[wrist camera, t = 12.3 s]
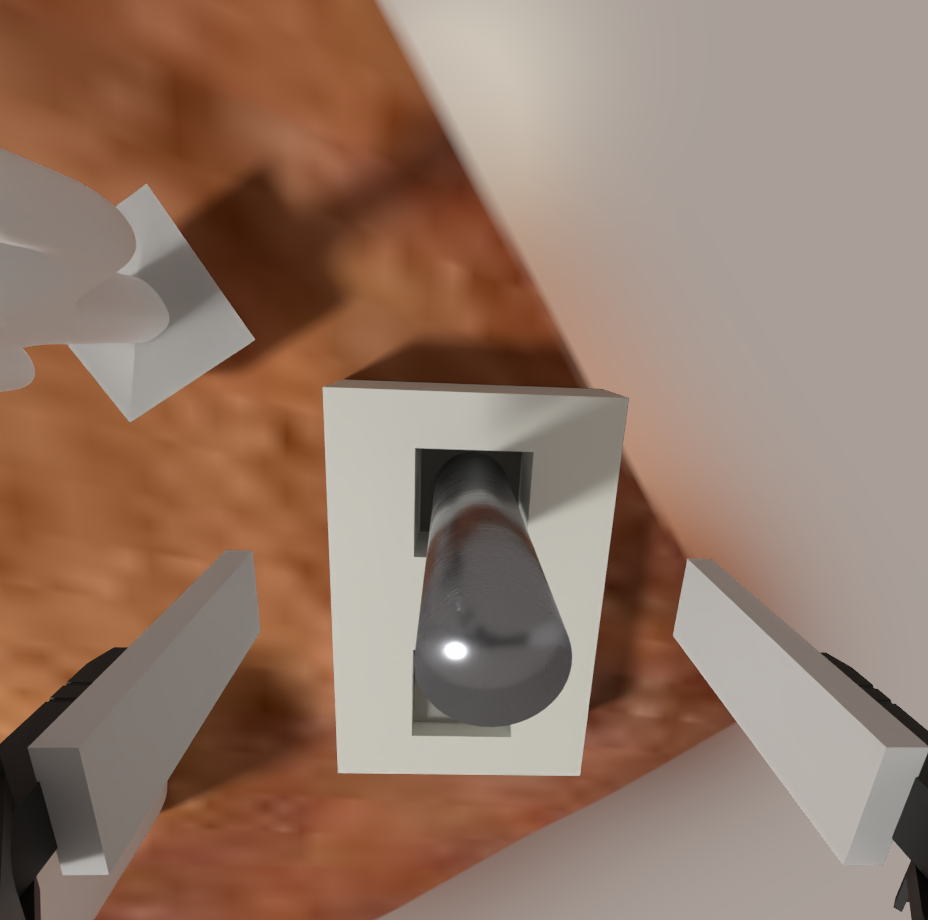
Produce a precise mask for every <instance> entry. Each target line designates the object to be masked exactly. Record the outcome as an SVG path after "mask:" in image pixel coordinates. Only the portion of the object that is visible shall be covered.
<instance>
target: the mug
mask: <svg viewBox="0 0 928 920" xmlns="http://www.w3.org/2000/svg"><path fill="white" fill-rule="evenodd" d="M166 795H167V782H166V784H165V785H164V787H163V789H162V790H161V792H160V793H159V795H158V797H157V798H156V800H155V802H154V803H153V805H152V806H151V808H150V810H149V811H148V813H147V814H146V816H145V818H144V819H143V821H142V822H141V824H140V826H139V827H138V829H137V830H136V832H135V834H134V835H133V837H132V839H131V840H130V842H129V843H128V845H127V847H126V848H125V850H124V851H123V853H122V855H121V856H120V858H119V859H118V861H117V863H116V864H115V866H114V868H113V869H112V871H111V872H110V874H109V875H63V874H62V871H61V867H60V864H59V860H58V856H57V853H56V851H55V852H54V854H53V855H52V856H51V858H50V859H49V860H48V861H47V863H46V864H45V865H44V867H43V868H42V869H41V871H40V872H39V873H38V875H37V876H36V877H37V880H38V884H39V887H40V905H41V920H94V919H95V917H96V915H97V914H98V912H99V911H100V909H101V907H102V906H103V904H104V903H105V901H106V899H107V898H108V896H109V894H110V893H111V891H112V890H113V888H114V886H115V885H116V883H117V882H118V880H119V878H120V877H121V875H122V874H123V872H124V870H125V869H126V867H127V866H128V864H129V862H130V861H131V859H132V857H133V856H134V854H135V853H136V851H137V849H138V848H139V846H140V845H141V843H142V841H143V840H144V838H145V837H146V835H147V833H148V832H149V830H150V828H151V827H152V825H153V824H154V822H155V820H156V819H157V817H158V815H159V813H160V811H161V809H162V807H163V804H164V802H165V799H166Z"/></svg>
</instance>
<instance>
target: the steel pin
mask: <svg viewBox="0 0 928 920" xmlns="http://www.w3.org/2000/svg"><path fill="white" fill-rule="evenodd" d="M571 665H572V649H571V644H570V640H569V637H568V634H567V632H566V629H565V626H564V624H563V621H562V619H561V616H560V614H559V611H558V608H557V606H556V603H555V601H554V598H553V595H552V593H551V590H550V588H549V585H548V583H547V580H546V577H545V575H544V572H543V570H542V567H541V565H540V562H539V559H538V557H537V554H536V552H535V549H534V546H533V544H532V541H531V539H530V536H529V534H528V531H527V528H526V526H525V523H524V521H523V518H522V515H521V513H520V510H519V508H518V505H517V503H516V500H515V497H514V495H513V492H512V490H511V487H510V485H509V482H508V479H507V477H506V474H505V472H504V470H503V469H502V467H501V466H500V465H499V463H498V462H496V461H495V460H494V459H493V458H491V457H489V456H487V455H485V454H482V453H476V452H467V453H462V454H459V455H456V456H454V457H452V458H451V459H449V460H448V461H447V462H446V463H445V464H444V465H443V466H442V467H441V469H440V471H439V472H438V475H437V477H436V481H435V489H434V497H433V506H432V514H431V522H430V531H429V539H428V547H427V556H426V564H425V572H424V580H423V589H422V597H421V605H420V614H419V622H418V630H417V639H416V647H415V656H414V668H415V674H416V678H417V681H418V684H419V686H420V688H421V690H422V692H423V693H424V695H425V696H426V698H427V699H428V700H429V701H430V702H431V703H432V704H433V705H434V706H435V707H436V708H437V709H438V710H439V711H441V712H442V713H443V714H445V715H447V716H449V717H450V718H452V719H455V720H457V721H459V722H462V723H466V724H469V725H474V726H481V727H500V726H507V725H512V724H515V723H519V722H522V721H524V720H527V719H529V718H531V717H533V716H535V715H537V714H538V713H540V712H541V711H543V710H544V709H545V708H547V707H548V706H549V705H550V704H551V703H552V702H553V701H554V700H555V699H556V698H557V697H558V695H559V694H560V693H561V691H562V690H563V688H564V686H565V684H566V682H567V680H568V677H569V674H570V671H571Z"/></svg>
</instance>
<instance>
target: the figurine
mask: <svg viewBox="0 0 928 920" xmlns="http://www.w3.org/2000/svg"><path fill="white" fill-rule="evenodd" d="M253 341H255V339H254V337H253V336H252V334H251V333H250V331H249V330H248V329H247V327H246V326H245V324H244V323H243V321H242V320H241V318H240V317H239V316H238V314H237V313H236V311H235V310H234V308H233V307H232V306H231V304H230V303H229V301H228V300H227V298H226V297H225V295H224V294H223V293H222V291H221V290H220V288H219V287H218V285H217V284H216V283H215V281H214V280H213V278H212V277H211V275H210V274H209V272H208V271H207V270H206V268H205V267H204V265H203V264H202V262H201V261H200V260H199V258H198V257H197V255H196V254H195V252H194V251H193V249H192V248H191V247H190V245H189V244H188V242H187V241H186V239H185V238H184V237H183V235H182V234H181V232H180V231H179V229H178V228H177V226H176V225H175V224H174V222H173V221H172V219H171V218H170V216H169V215H168V214H167V212H166V211H165V209H164V208H163V206H162V205H161V203H160V202H159V201H158V199H157V198H156V196H155V195H154V193H153V192H152V191H151V189H150V188H149V186H148V185H147V184H145V185H144V186H143V187H141V188H140V189H139V190H137V191H136V192H134V193H133V194H132V195H130V196H129V197H128V198H126V199H125V200H123V201H122V202H121V203H119V204H118V205H117V206H114V205H113V204H112V203H110V202H109V201H108V200H107V199H105V198H104V197H103V196H101V195H100V194H99V193H97V192H95V191H94V190H92V189H90V188H89V187H87V186H85V185H83V184H82V183H80V182H78V181H76V180H74V179H72V178H70V177H68V176H65V175H63V174H61V173H58V172H56V171H54V170H51V169H49V168H47V167H44V166H42V165H40V164H37V163H35V162H32V161H30V160H28V159H25V158H23V157H21V156H18V155H16V154H13V153H11V152H9V151H6V150H4V149H2V148H0V392H1V391H10V390H16V389H21V388H24V387H26V386H28V385H29V384H30V383H31V382H32V381H33V379H34V376H35V368H34V365H33V363H32V360H31V359H30V357H29V355H28V354H27V353H26V351H25V350H24V349H23V348H24V347H30V346H36V345H43V344H67V345H68V346H69V347H70V349H71V350H72V351H73V352H74V354H75V355H76V356H77V357H78V359H79V360H80V361H81V362H82V364H83V365H84V366H85V367H86V369H87V370H88V371H89V372H90V374H91V375H92V376H93V377H94V379H95V380H96V381H97V382H98V383H99V385H100V386H101V387H102V388H103V390H104V391H105V392H106V393H107V395H108V396H109V397H110V398H111V400H112V401H113V402H114V403H115V405H116V406H117V407H118V408H119V410H120V411H121V412H122V413H123V415H124V416H125V417H126V418H127V420H128V421H129V422H131V421H133V420H135V419H136V418H138V417H139V416H141V415H142V414H144V413H145V412H147V411H148V410H150V409H151V408H153V407H154V406H156V405H157V404H159V403H160V402H162V401H163V400H165V399H166V398H168V397H170V396H171V395H173V394H174V393H176V392H177V391H179V390H180V389H182V388H183V387H185V386H186V385H188V384H189V383H191V382H192V381H194V380H195V379H197V378H198V377H200V376H201V375H203V374H204V373H206V372H208V371H209V370H211V369H212V368H214V367H215V366H217V365H218V364H220V363H221V362H223V361H224V360H226V359H227V358H229V357H230V356H232V355H233V354H235V353H236V352H238V351H239V350H241V349H242V348H244V347H246V346H247V345H249V344H250V343H252V342H253Z"/></svg>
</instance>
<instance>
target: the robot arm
mask: <svg viewBox="0 0 928 920" xmlns="http://www.w3.org/2000/svg"><path fill="white" fill-rule="evenodd" d="M259 633H260V621H259V611H258V600H257V589H256V579H255V568H254V558H253V551H250V550H226V551H225V552H224V553H223V554H222V555H221V556H220V557H219V558H218V559H217V560H216V561H215V562H214V563H213V564H212V565H211V566H210V567H209V568H208V569H207V570H206V571H205V572H204V573H203V574H202V575H201V576H200V577H199V578H198V579H197V580H196V581H195V582H194V583H193V584H192V585H191V586H190V587H189V588H188V589H187V590H186V591H185V592H184V593H183V594H182V595H181V596H180V597H179V598H178V599H177V600H176V601H175V602H174V603H173V604H172V605H171V606H170V607H169V608H168V609H167V610H165V611H164V612H163V613H162V614H161V615H160V616H159V617H158V618H157V619H156V620H155V621H154V622H153V623H152V624H151V625H150V626H149V627H148V628H147V629H146V630H145V631H144V632H143V633H142V634H141V635H140V636H139V637H138V638H137V639H136V640H135V641H134V642H133V643H132V644H131V645H130V646H129V647H128V648H117V647H114V648H112V649H111V650H109V651H107V652H106V653H104V654H102V655H100V656H99V657H97V658H95V659H94V660H92V661H90V662H89V663H87V664H86V665H85V666H84V667H83V668H82V669H81V670H80V671H79V672H77V673H76V674H75V675H74V676H73V677H72V678H71V679H70V680H69V681H68V682H67V685H66V686H62V687H61V688H60V689H59V690H58V691H57V692H56V693H55V694H54V695H53V696H51V697H50V701H49V702H45V703H44V704H43V705H42V706H41V707H40V708H38V709H37V710H36V711H35V712H34V713H33V714H32V715H31V716H30V717H29V718H28V719H27V720H26V721H24V722H23V723H22V724H21V725H20V726H19V727H18V728H17V729H16V730H15V731H14V732H13V733H11V734H10V735H9V736H8V737H7V738H6V739H5V740H4V741H3V742H2V743H1V744H0V920H41V905H40V887H39V884H38V880H37V877H36V876H37V875H38V873H39V872H40V871H41V869H42V868H43V867H44V865H45V864H46V863H47V861H48V860H49V859H50V858H51V856H52V855H53V854H54V852H55V851H56V853H57V856H58V860H59V864H60V867H61V871H62V874H63V875H109V874H110V872H111V871H112V869H113V868H114V866H115V864H116V863H117V861H118V859H119V858H120V856H121V855H122V853H123V851H124V850H125V848H126V847H127V845H128V843H129V842H130V840H131V839H132V837H133V835H134V834H135V832H136V830H137V829H138V827H139V826H140V824H141V822H142V821H143V819H144V818H145V816H146V814H147V813H148V811H149V810H150V808H151V806H152V805H153V803H154V802H155V800H156V798H157V797H158V795H159V793H160V792H161V790H162V789H163V787H164V785H165V784H166V782H167V781H168V779H169V777H170V776H171V774H172V773H173V771H174V769H175V768H176V766H177V765H178V763H179V761H180V760H181V758H182V756H183V755H184V753H185V752H186V750H187V748H188V747H189V745H190V744H191V742H192V740H193V739H194V737H195V736H196V734H197V732H198V731H199V729H200V727H201V726H202V724H203V723H204V721H205V719H206V718H207V716H208V715H209V713H210V711H211V710H212V708H213V707H214V705H215V703H216V702H217V700H218V699H219V697H220V695H221V694H222V692H223V690H224V689H225V687H226V686H227V684H228V682H229V681H230V679H231V678H232V676H233V674H234V673H235V671H236V670H237V668H238V666H239V665H240V663H241V662H242V660H243V658H244V657H245V655H246V653H247V652H248V650H249V649H250V647H251V645H252V644H253V642H254V641H255V639H256V637H257V636H258V634H259ZM673 636H674V638H675V639H676V640H677V642H678V643H679V644H680V646H681V647H682V648H683V650H684V651H685V653H686V654H687V655H688V657H689V658H690V659H691V661H692V662H693V663H694V665H695V666H696V667H697V669H698V670H699V671H700V673H701V674H702V675H703V677H704V678H705V680H706V681H707V682H708V684H709V685H710V686H711V688H712V689H713V690H714V692H715V693H716V694H717V696H718V697H719V698H720V700H721V701H722V702H723V704H724V705H725V707H726V708H727V709H728V711H729V712H730V713H731V715H732V716H733V717H734V719H735V720H736V721H737V723H738V724H739V725H740V727H741V728H742V729H743V731H744V732H745V733H746V735H747V736H748V738H749V739H750V740H751V742H752V743H753V744H754V745H755V747H756V748H757V750H758V751H759V752H760V754H761V755H762V756H763V758H764V759H765V761H766V762H767V763H768V765H769V766H770V767H771V769H772V770H773V771H774V773H775V774H776V775H777V777H778V778H779V779H780V781H781V782H782V784H783V785H784V786H785V787H786V789H787V790H788V791H789V793H790V794H791V796H792V797H793V798H794V800H795V801H796V802H797V804H798V805H799V806H800V808H801V809H802V810H803V812H804V813H805V815H806V816H807V817H808V819H809V820H810V821H811V823H812V824H813V825H814V827H815V828H816V829H817V831H818V832H819V833H820V835H821V836H822V837H823V839H824V840H825V842H826V843H827V844H828V846H829V847H830V848H831V850H832V851H833V852H834V854H835V855H836V856H837V858H838V859H839V860H840V862H841V863H842V864H843V866H865V865H866V866H867V865H883V864H884V862H885V859H886V857H887V854H888V852H889V849H890V847H891V844H892V842H893V840H894V841H895V842H896V844H897V845H898V846H899V847H900V848H901V849H902V850H903V852H904V853H905V854H906V855H907V856H908V857H909V858H910V860H911V862H910V865H909V867H908V869H907V872H906V874H905V876H904V879H903V881H902V883H901V886H900V888H899V891H898V893H897V896H896V898H895V903H894V908H896V909H898V910H899V911H901V912H902V910H903V908H904V905H905V903H906V902H910V910H911V917H912V920H928V731H927V730H926V729H925V728H923V726H921V725H920V724H919V723H918V722H917V721H915V720H914V719H913V718H912V717H911V716H909V715H908V714H907V713H906V712H905V711H903V710H902V709H901V708H900V707H899V706H897V705H896V704H892V703H891V700H890V699H889V698H888V697H886V696H885V695H884V694H883V693H882V692H880V691H879V690H878V689H874V688H873V685H872V684H871V683H870V682H868V681H867V680H866V679H865V678H864V677H863V676H861V675H860V674H859V673H858V672H856V671H855V670H854V669H853V668H851V667H850V666H848V665H846V664H845V663H843V662H841V661H839V660H838V659H836V658H834V657H832V656H831V655H829V654H827V653H820V652H819V651H818V650H816V649H815V648H814V647H813V646H811V644H809V643H808V642H807V641H806V640H805V639H804V638H802V637H801V636H800V635H799V634H798V633H797V632H795V631H794V630H793V629H792V628H791V627H790V626H789V625H787V624H786V623H785V622H784V621H783V620H782V619H780V618H779V617H778V616H777V615H776V614H774V612H772V611H771V610H770V609H769V608H768V607H767V606H765V605H764V604H763V603H762V602H761V601H760V600H758V599H757V598H756V597H755V596H754V595H753V594H752V593H750V592H749V591H748V590H747V589H746V588H745V587H743V586H742V585H741V584H740V583H739V582H737V581H736V580H735V579H734V578H733V577H732V576H731V575H729V574H728V573H727V572H726V571H725V570H724V569H723V568H721V567H720V566H719V565H718V564H717V563H716V562H714V561H713V560H712V559H687V564H686V569H685V575H684V580H683V585H682V590H681V596H680V601H679V606H678V612H677V617H676V622H675V627H674V633H673Z"/></svg>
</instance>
